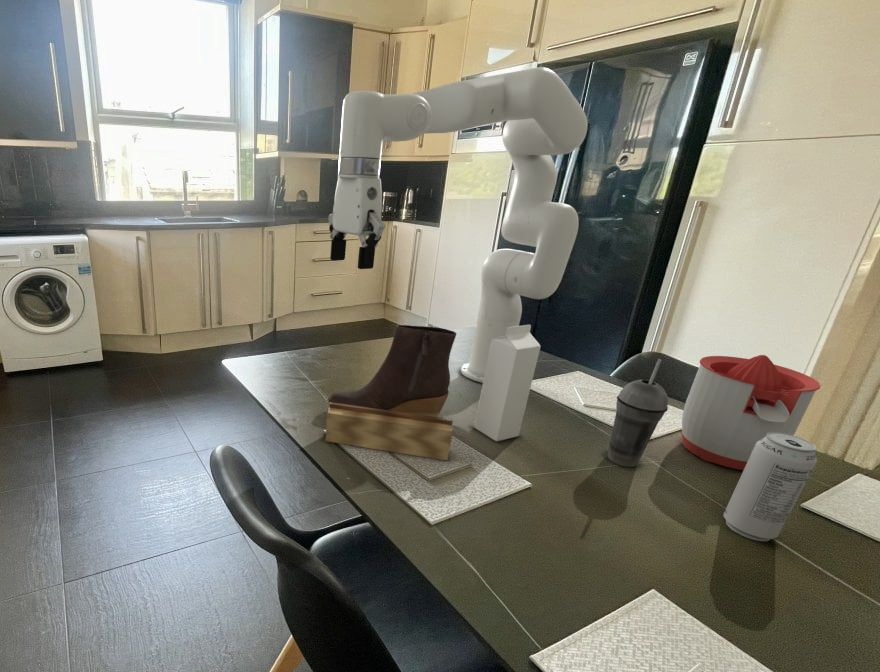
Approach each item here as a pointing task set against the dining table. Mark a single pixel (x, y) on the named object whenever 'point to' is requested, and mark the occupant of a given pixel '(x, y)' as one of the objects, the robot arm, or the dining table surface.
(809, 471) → the energy drink can
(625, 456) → the beverage cup
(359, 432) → the wooden block
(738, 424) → the citrus juicer
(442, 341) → the boot
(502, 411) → the milk
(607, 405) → the dining table surface
